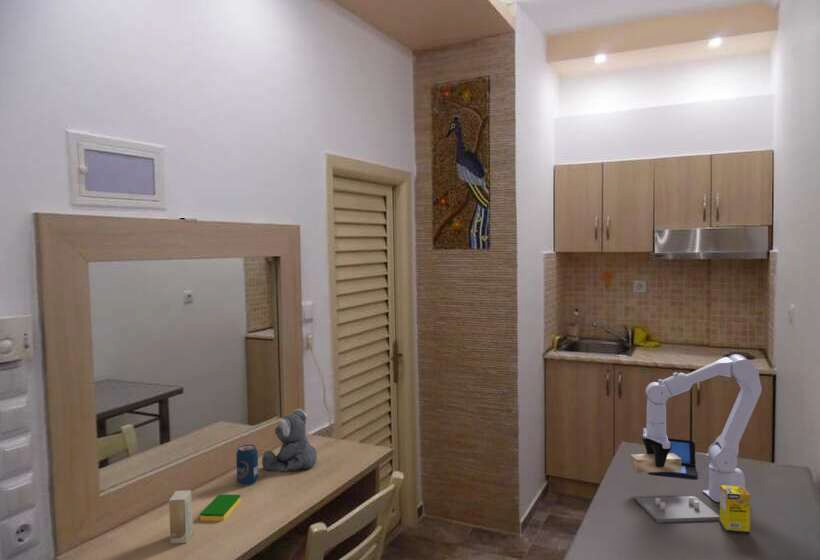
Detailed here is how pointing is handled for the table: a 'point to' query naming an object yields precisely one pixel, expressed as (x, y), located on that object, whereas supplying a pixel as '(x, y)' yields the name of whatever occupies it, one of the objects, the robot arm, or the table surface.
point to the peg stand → (677, 509)
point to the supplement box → (735, 509)
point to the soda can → (247, 465)
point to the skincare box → (180, 516)
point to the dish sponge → (220, 507)
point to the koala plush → (291, 445)
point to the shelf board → (648, 463)
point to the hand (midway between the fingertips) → (656, 463)
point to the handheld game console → (683, 458)
